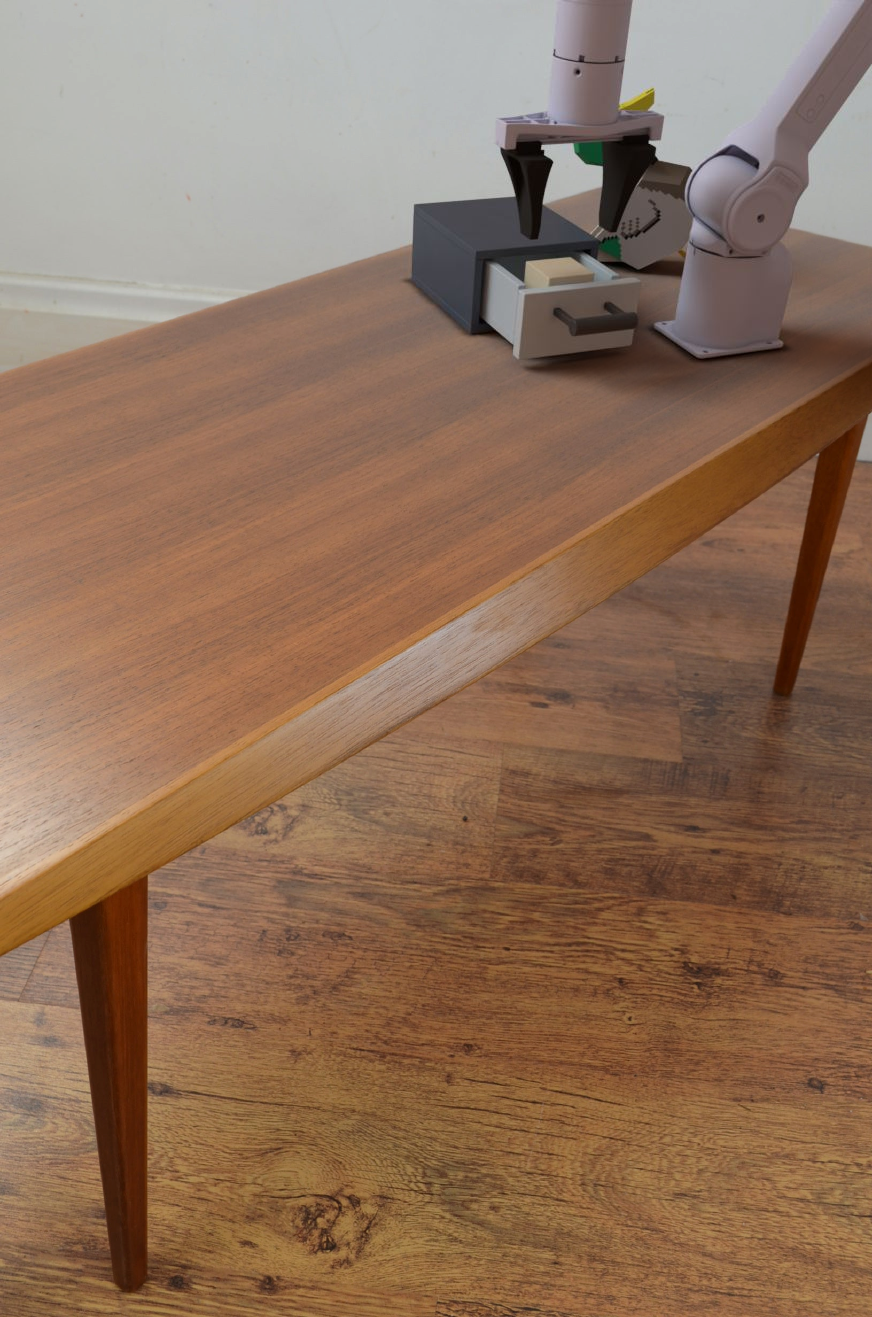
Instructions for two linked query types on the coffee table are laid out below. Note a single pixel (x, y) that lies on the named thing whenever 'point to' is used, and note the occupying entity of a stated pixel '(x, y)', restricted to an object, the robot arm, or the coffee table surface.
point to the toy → (645, 207)
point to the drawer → (558, 307)
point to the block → (556, 273)
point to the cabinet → (479, 249)
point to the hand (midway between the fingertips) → (568, 232)
